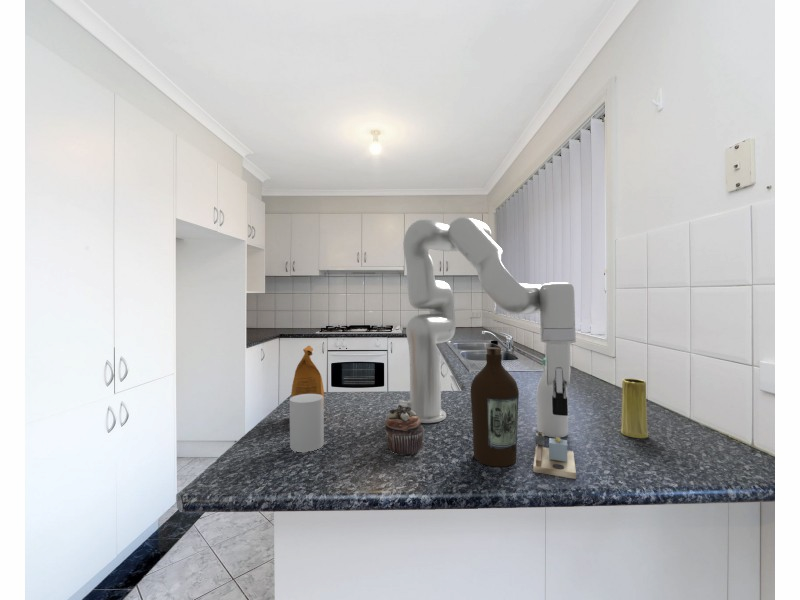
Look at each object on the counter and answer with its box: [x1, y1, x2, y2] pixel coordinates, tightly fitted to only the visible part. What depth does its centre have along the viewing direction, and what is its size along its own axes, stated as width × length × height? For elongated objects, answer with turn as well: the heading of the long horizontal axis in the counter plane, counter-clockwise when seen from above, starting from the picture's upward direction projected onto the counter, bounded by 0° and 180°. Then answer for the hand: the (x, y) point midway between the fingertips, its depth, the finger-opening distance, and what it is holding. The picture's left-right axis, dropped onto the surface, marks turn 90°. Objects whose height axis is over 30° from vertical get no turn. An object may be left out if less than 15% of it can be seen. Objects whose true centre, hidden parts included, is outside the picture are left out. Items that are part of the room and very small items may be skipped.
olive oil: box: [470, 346, 520, 468], centre depth 82 cm, size 11×11×25 cm
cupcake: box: [384, 404, 425, 456], centre depth 88 cm, size 10×10×10 cm
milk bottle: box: [536, 357, 569, 439], centre depth 97 cm, size 8×8×20 cm
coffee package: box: [290, 345, 325, 409], centre depth 109 cm, size 10×12×22 cm
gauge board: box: [532, 431, 577, 480], centre depth 79 cm, size 8×11×5 cm
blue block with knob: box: [548, 437, 568, 462], centre depth 79 cm, size 4×3×4 cm
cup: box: [289, 394, 325, 452], centre depth 90 cm, size 8×8×12 cm
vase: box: [620, 378, 649, 439], centre depth 96 cm, size 6×6×14 cm
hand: (560, 414), depth 84 cm, fingers closed
